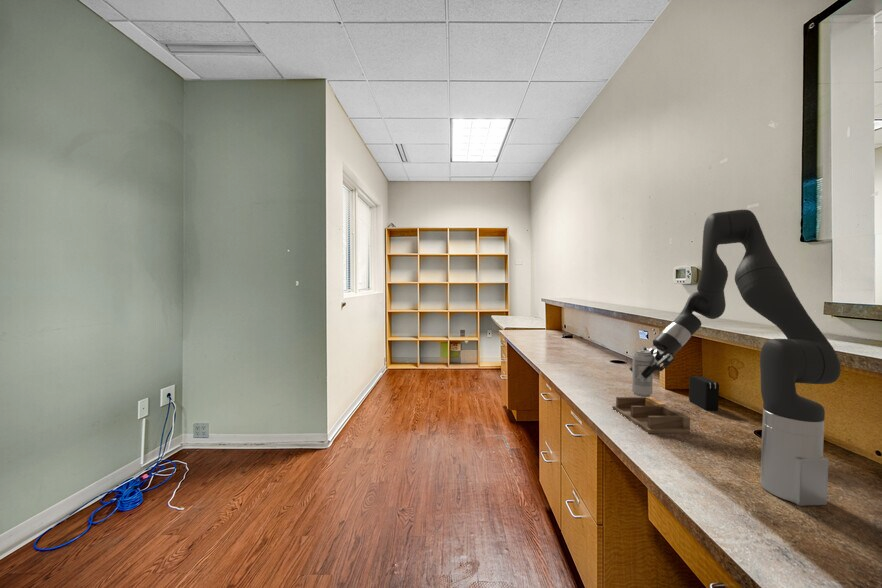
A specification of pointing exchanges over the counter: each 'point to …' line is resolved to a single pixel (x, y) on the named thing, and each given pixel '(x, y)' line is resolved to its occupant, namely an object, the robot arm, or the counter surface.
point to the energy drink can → (640, 363)
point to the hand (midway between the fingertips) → (637, 373)
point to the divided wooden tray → (652, 415)
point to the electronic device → (704, 392)
